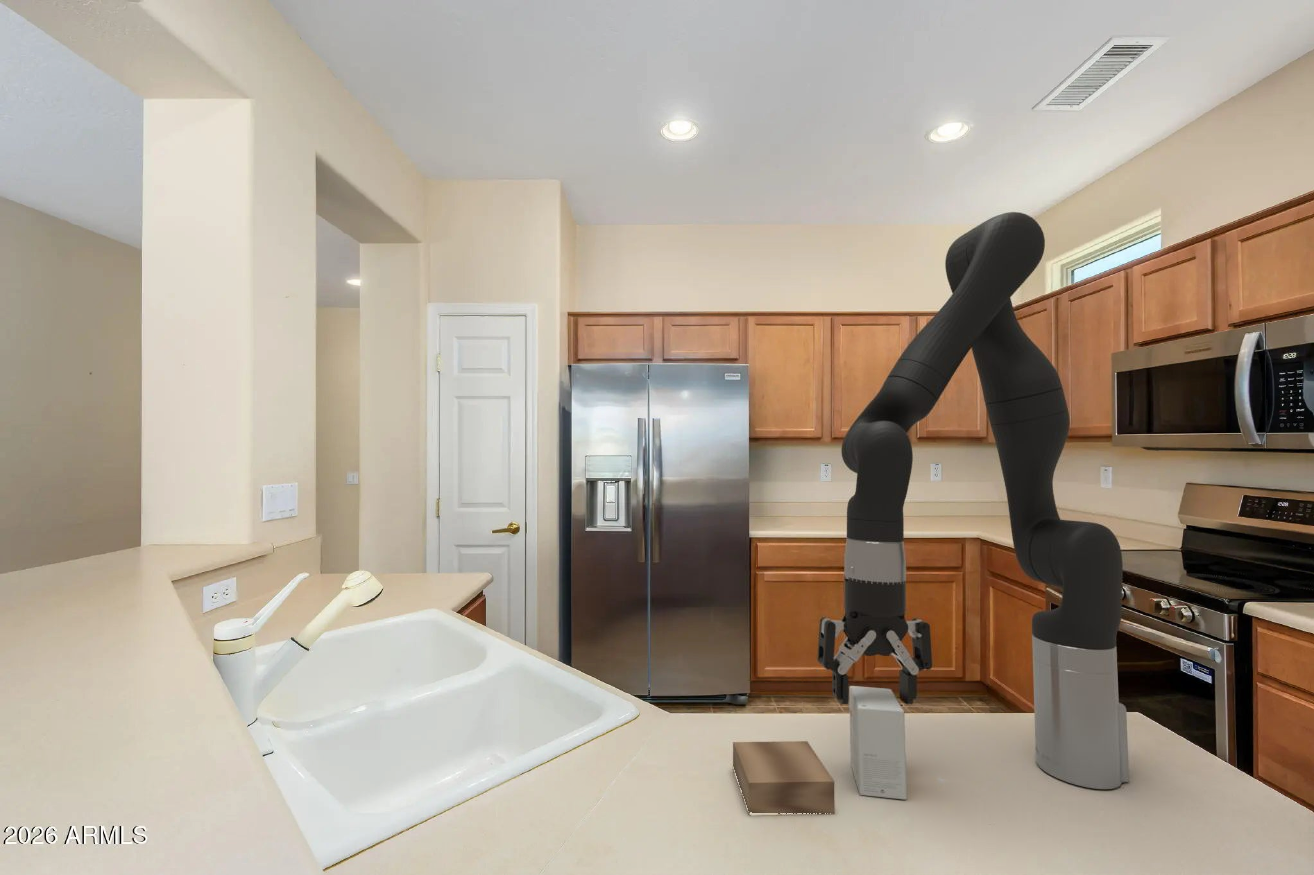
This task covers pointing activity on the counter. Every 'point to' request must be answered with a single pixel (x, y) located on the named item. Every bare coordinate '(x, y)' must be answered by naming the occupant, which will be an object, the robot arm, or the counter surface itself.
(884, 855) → the counter surface
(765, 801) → the walnut block
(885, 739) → the small box
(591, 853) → the counter surface
